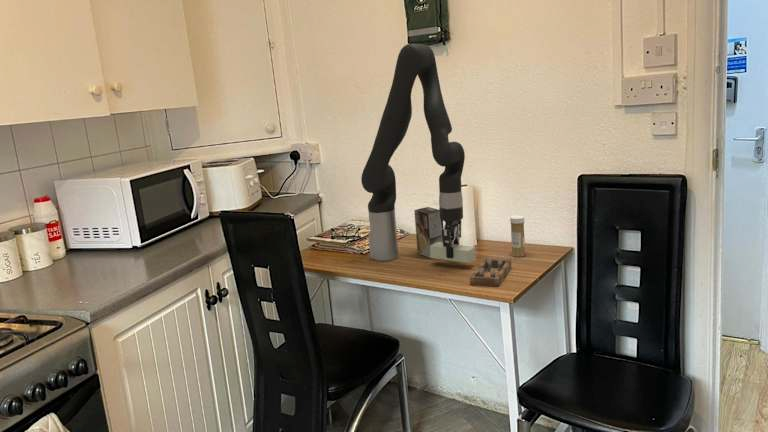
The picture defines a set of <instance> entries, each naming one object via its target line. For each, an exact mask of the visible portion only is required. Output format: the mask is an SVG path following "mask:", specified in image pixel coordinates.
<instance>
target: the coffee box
mask: <svg viewBox="0 0 768 432" xmlns="http://www.w3.org/2000/svg"><path fill="white" fill-rule="evenodd" d="M414 223H415V235H416V246H417V247H416V248H417V254H418V255H421V256H424V257H426V258H429V259H431V258H430V246H431V245H433V244H435V243H436V242H441V243H443V240H442V229H443V230H444V221H442V220H441V219H440V211H439V208H433V207H429V206H425V207H421V208H418V209H414Z"/></svg>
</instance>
